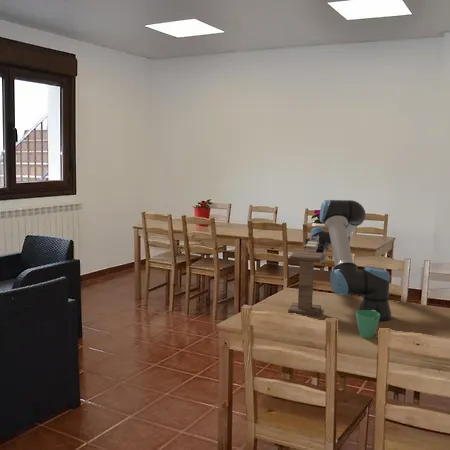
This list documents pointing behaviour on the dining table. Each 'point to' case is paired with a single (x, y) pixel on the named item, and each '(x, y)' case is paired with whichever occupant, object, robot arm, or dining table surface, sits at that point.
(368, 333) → the mug
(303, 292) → the stand
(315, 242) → the bar
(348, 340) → the dining table surface
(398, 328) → the dining table surface
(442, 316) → the dining table surface
